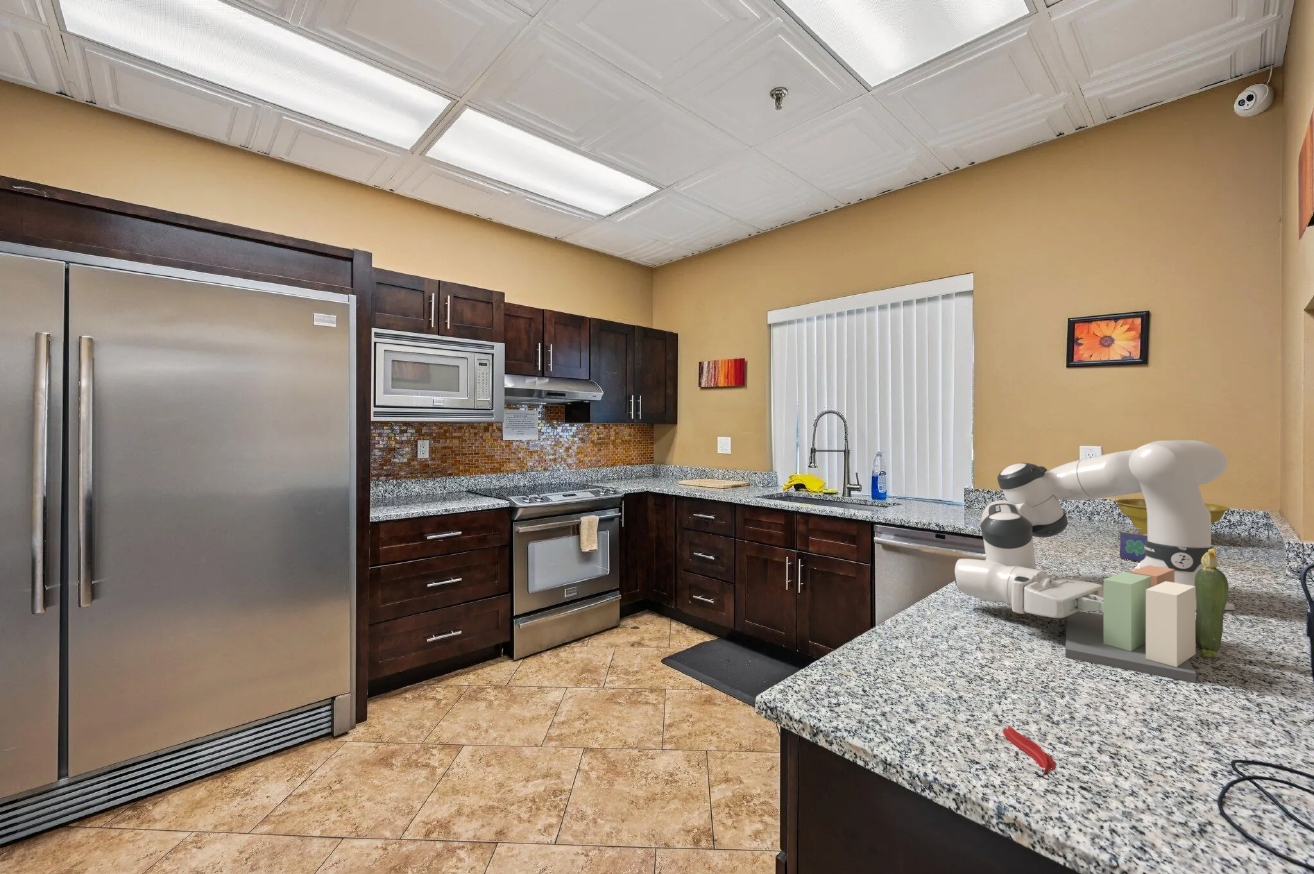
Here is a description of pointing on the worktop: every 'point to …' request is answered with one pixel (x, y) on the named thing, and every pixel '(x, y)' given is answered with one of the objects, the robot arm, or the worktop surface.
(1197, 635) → the vegetable
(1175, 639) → the cream block
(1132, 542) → the flask
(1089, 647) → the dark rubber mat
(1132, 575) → the sage green block
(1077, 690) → the worktop surface
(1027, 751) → the cayenne pepper
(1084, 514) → the worktop surface
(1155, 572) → the terracotta block
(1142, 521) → the planter bowl
